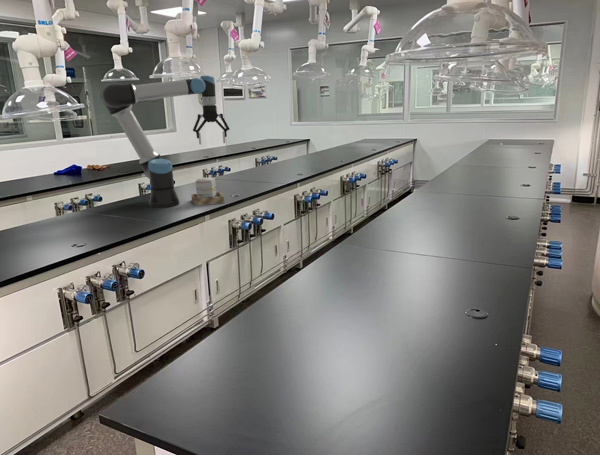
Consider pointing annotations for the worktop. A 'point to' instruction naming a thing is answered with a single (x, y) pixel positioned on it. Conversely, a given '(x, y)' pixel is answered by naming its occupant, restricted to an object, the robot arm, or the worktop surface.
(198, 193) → the ink box
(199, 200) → the maple tray
